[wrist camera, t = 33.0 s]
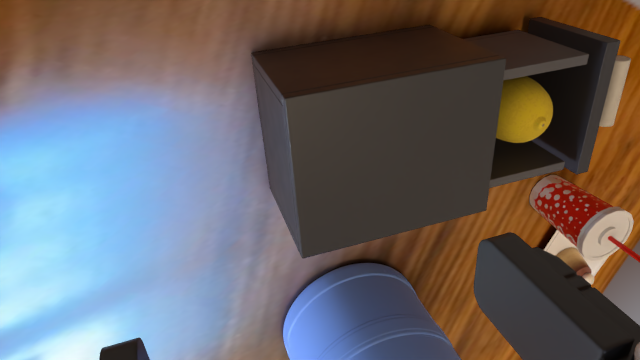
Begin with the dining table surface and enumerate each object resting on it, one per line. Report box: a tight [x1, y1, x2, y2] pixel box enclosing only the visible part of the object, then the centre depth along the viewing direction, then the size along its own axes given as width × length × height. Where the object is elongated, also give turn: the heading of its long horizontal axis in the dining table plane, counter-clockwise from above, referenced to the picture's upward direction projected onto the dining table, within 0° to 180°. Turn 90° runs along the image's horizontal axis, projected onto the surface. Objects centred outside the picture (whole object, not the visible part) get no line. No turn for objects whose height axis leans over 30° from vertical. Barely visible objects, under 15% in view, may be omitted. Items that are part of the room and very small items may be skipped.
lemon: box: [496, 76, 553, 143], centre depth 41 cm, size 6×6×8 cm
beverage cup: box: [529, 175, 640, 262], centre depth 51 cm, size 6×6×14 cm
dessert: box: [544, 230, 609, 284], centre depth 62 cm, size 12×12×5 cm
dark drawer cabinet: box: [251, 25, 506, 258], centre depth 39 cm, size 16×13×11 cm
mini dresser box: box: [463, 17, 631, 188], centre depth 42 cm, size 19×11×9 cm, turn 93°
